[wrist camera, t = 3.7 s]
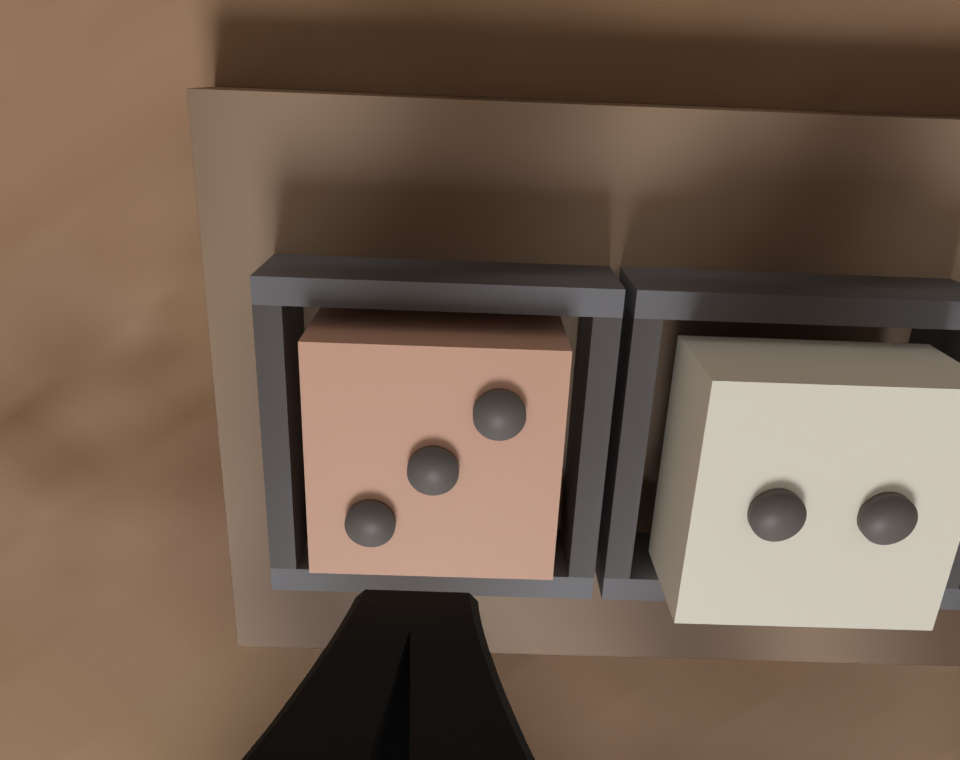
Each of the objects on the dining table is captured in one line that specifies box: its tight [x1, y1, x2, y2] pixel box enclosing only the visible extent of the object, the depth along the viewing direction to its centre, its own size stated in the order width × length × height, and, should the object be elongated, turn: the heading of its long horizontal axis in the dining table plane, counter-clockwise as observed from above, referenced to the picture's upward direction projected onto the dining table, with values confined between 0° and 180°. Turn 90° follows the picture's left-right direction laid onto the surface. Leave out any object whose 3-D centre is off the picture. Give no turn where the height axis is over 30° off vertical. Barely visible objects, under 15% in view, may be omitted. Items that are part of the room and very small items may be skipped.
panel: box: [187, 87, 960, 666], centre depth 16 cm, size 22×12×3 cm, turn 88°
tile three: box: [298, 307, 572, 580], centre depth 15 cm, size 4×4×2 cm
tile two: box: [648, 335, 960, 631], centre depth 14 cm, size 4×4×2 cm
